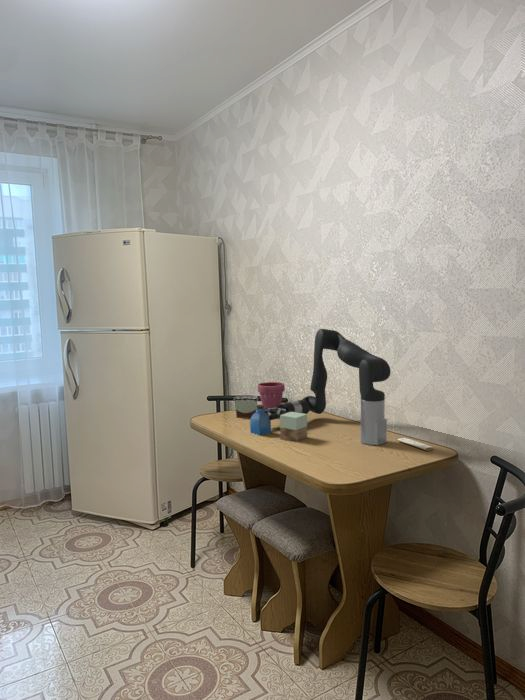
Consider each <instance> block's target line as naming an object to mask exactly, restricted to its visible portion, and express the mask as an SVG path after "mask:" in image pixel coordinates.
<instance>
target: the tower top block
mask: <svg viewBox="0 0 525 700" xmlns="http://www.w3.org/2000/svg"><path fill="white" fill-rule="evenodd" d="M306 426H307V427H308V413H307V414H303V413H296V412H289V413H286V414H282V415H280V419H279V427H280V428H287V429H293V430H298V429H301V428H303V427H306Z"/></svg>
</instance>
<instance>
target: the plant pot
mask: <svg viewBox="0 0 525 700" xmlns="http://www.w3.org/2000/svg"><path fill="white" fill-rule="evenodd" d="M285 388H286V387H285V383H283V382H279V381H277V382H276V381H267V382H260V383H258V384H257V392H258V393H259V397H260V402H261V405H264V407H263V408H269V407H271V408H277V407H278V406H279V404H281V403H282V400H283V395H284V392H285V390H286V389H285Z"/></svg>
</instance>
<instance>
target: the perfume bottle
mask: <svg viewBox="0 0 525 700" xmlns="http://www.w3.org/2000/svg"><path fill="white" fill-rule="evenodd" d="M263 407H264V405H262V404H257V408H256V413H253V415H252V417H251V418H249V419H250V420H249V422H250V424H249V425H250V426H249V427H250V429H249V430H250V431H249V432H251V433H250V434H253V433H254V434H253V435H256V434H257V435H256V436H259V435H260V436H264V435H268V433H269V434H271V432H272V430H271V429H272V424H271V423H272V422H271V421H272V420H269V416H268V414H267V413H265V412H264V408H263ZM263 434H264V435H263Z"/></svg>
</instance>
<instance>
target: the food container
mask: <svg viewBox="0 0 525 700" xmlns="http://www.w3.org/2000/svg"><path fill="white" fill-rule="evenodd" d="M233 402H234V408H235V416H236V418H237V417H252V415H253V413H256V412H257V411H256V408H257V405H258V402H259V397H258V396H257V395H251V394H241V395H237V396H234V397H233Z"/></svg>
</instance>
